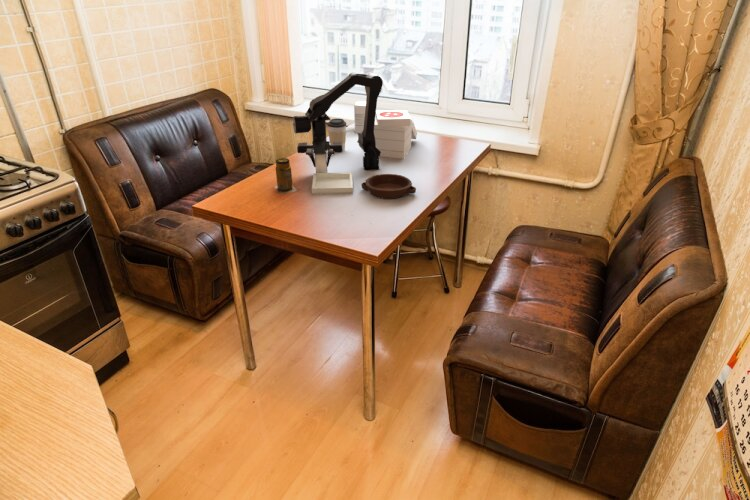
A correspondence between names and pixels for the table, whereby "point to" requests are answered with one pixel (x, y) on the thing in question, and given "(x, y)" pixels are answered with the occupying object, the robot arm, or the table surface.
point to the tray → (332, 183)
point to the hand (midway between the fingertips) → (321, 166)
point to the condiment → (284, 176)
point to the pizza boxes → (394, 133)
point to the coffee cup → (337, 132)
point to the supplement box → (359, 116)
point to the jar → (321, 163)
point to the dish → (388, 186)
